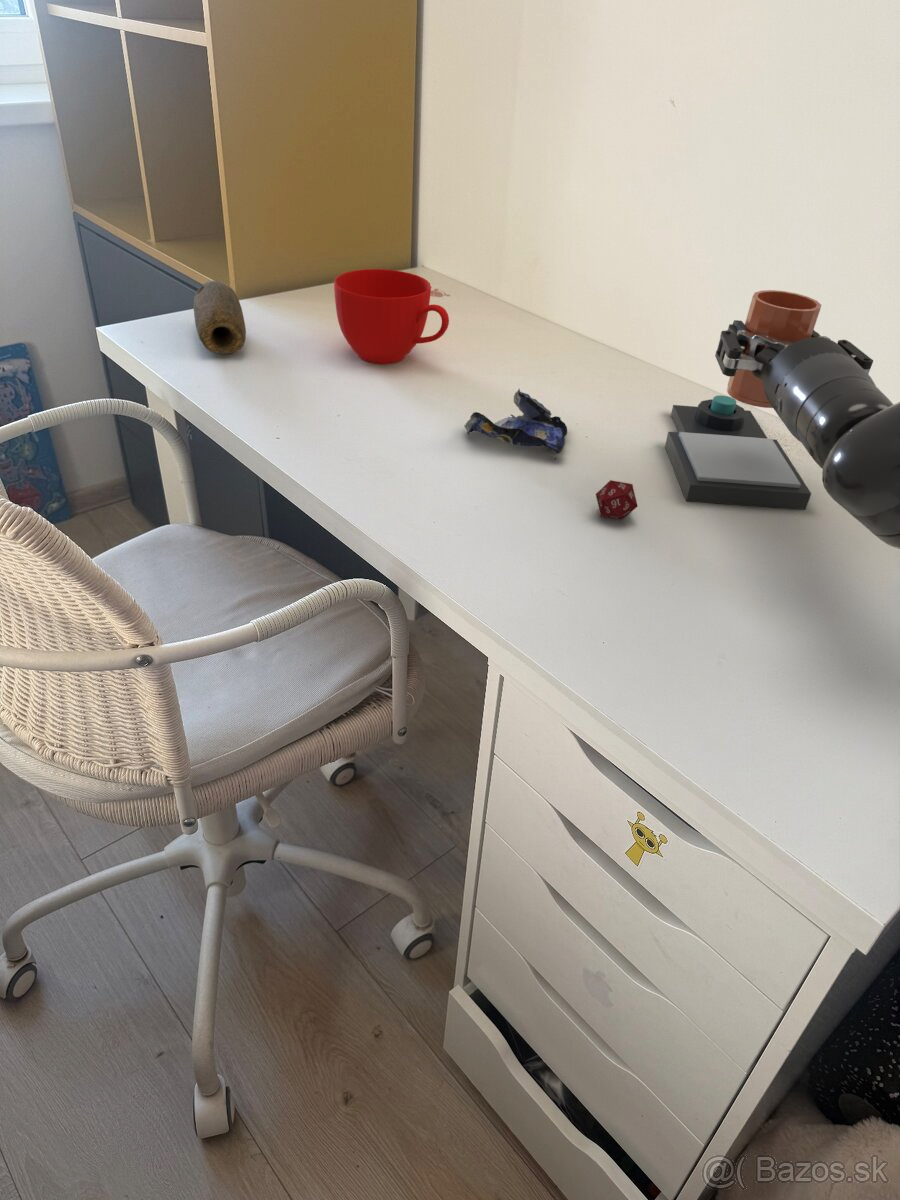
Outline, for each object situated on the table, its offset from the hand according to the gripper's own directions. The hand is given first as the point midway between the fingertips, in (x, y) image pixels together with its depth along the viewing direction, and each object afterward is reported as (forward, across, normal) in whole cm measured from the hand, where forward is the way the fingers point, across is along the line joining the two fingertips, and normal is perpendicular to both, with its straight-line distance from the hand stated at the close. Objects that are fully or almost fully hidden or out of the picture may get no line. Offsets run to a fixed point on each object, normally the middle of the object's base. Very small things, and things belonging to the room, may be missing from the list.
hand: (768, 332), depth 86 cm
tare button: (+10, -1, +13) cm, 17 cm away
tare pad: (+10, -1, +16) cm, 19 cm away
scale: (-2, 0, +16) cm, 16 cm away
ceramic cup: (+26, +41, +16) cm, 51 cm away
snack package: (+3, +24, +16) cm, 29 cm away
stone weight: (+28, +65, +16) cm, 73 cm away
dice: (-13, +15, +16) cm, 26 cm away
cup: (-2, 0, +6) cm, 6 cm away
